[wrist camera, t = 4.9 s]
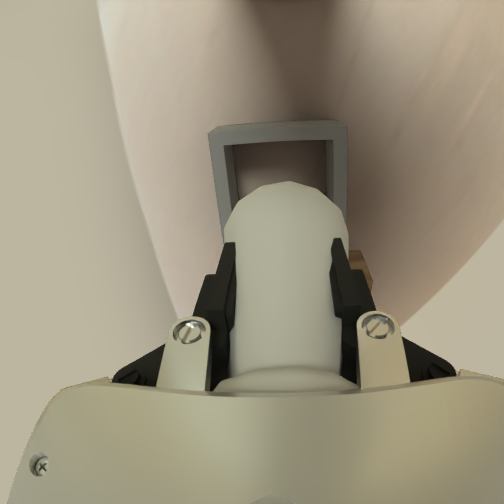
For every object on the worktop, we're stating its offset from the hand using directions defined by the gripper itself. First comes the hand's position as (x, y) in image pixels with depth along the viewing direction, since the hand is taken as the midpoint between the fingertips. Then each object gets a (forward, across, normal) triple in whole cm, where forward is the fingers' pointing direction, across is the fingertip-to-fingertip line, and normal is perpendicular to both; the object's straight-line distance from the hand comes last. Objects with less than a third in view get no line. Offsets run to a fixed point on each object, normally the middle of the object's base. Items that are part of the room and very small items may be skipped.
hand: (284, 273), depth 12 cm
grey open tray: (+16, 0, +1) cm, 16 cm away
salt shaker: (+5, 0, 0) cm, 5 cm away
